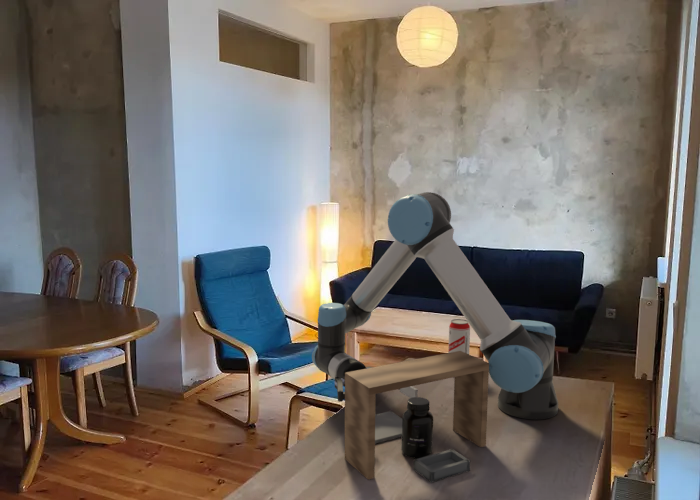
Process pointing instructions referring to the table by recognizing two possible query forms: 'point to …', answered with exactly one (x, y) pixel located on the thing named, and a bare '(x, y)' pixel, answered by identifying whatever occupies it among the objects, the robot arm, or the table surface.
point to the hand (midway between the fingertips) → (392, 400)
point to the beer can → (459, 336)
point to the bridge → (405, 374)
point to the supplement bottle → (417, 428)
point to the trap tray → (441, 465)
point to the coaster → (387, 426)
